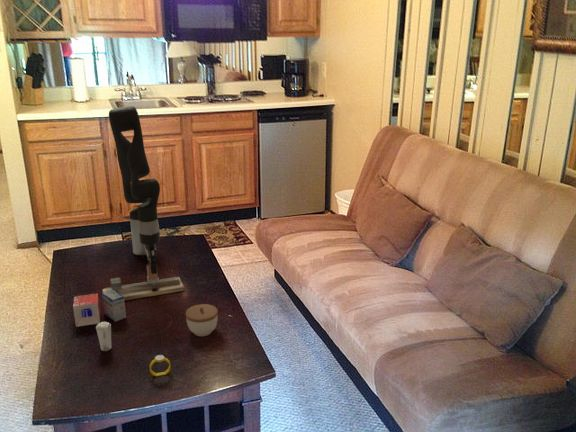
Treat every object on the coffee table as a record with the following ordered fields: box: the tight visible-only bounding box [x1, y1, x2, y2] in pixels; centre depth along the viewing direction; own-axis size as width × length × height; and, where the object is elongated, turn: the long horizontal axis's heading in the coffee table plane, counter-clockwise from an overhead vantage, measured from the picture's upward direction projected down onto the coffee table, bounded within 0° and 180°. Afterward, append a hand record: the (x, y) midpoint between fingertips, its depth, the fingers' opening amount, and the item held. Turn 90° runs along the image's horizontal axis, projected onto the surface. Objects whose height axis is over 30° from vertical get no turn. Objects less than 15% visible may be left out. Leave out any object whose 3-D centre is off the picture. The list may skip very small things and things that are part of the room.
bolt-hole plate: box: [102, 276, 185, 302], centre depth 204 cm, size 10×30×6 cm, turn 112°
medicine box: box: [101, 290, 127, 323], centre depth 185 cm, size 8×4×9 cm, turn 47°
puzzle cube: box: [72, 293, 101, 328], centre depth 183 cm, size 8×8×8 cm
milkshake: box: [95, 321, 112, 352], centre depth 165 cm, size 5×5×10 cm
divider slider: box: [146, 263, 160, 288], centre depth 204 cm, size 4×4×9 cm
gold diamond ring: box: [149, 354, 172, 377], centre depth 153 cm, size 6×3×6 cm, turn 108°
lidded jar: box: [185, 303, 219, 337], centre depth 175 cm, size 11×11×9 cm
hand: (152, 268), depth 204 cm, fingers open, 8 cm apart
